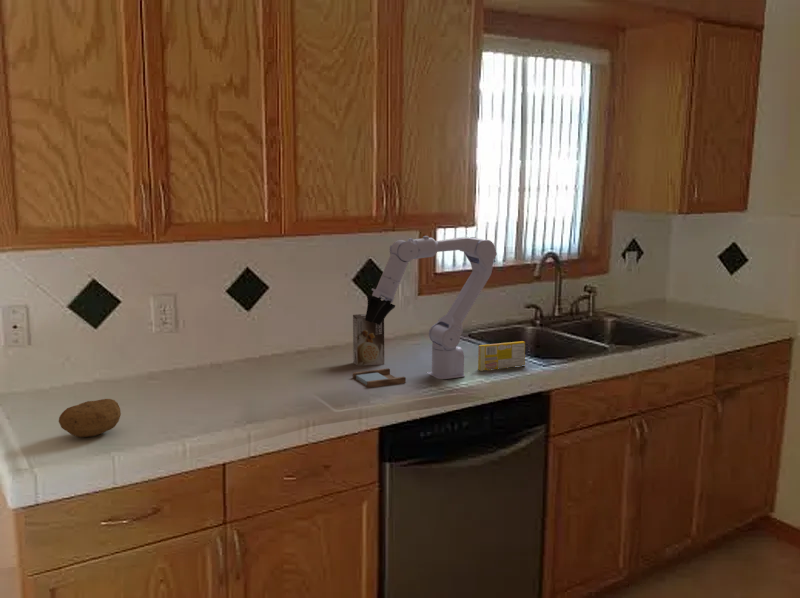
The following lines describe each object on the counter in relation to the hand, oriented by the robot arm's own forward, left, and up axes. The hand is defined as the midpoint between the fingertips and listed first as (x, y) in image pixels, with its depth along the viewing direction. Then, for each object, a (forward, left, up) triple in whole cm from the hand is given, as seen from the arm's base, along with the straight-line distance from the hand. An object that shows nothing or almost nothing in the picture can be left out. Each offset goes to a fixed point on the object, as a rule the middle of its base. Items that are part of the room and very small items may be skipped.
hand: (372, 322), depth 226 cm
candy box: (-45, +1, -19) cm, 49 cm away
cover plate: (0, 0, -18) cm, 18 cm away
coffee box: (-8, -20, -19) cm, 29 cm away
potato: (+79, +12, -19) cm, 82 cm away
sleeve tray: (-2, 0, -18) cm, 19 cm away
